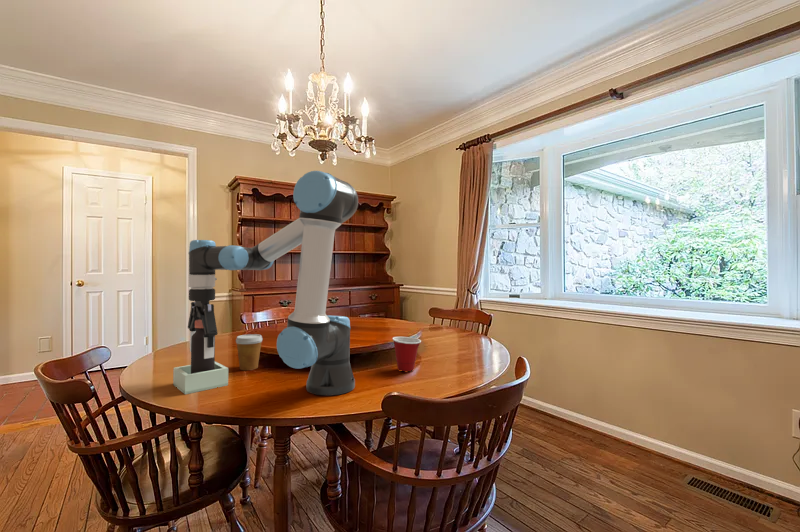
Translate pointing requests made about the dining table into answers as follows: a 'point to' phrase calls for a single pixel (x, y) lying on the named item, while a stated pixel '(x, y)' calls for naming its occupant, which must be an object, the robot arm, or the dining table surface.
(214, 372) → the open rectangular box
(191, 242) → the robot arm
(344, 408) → the dining table surface
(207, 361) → the vinegar
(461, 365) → the dining table surface
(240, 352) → the disposable coffee cup
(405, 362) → the plastic cup
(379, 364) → the dining table surface
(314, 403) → the dining table surface
